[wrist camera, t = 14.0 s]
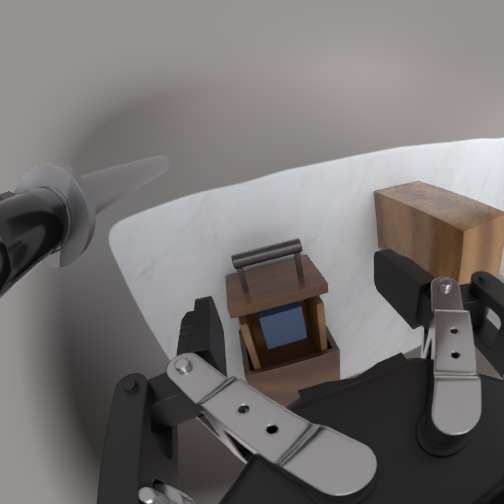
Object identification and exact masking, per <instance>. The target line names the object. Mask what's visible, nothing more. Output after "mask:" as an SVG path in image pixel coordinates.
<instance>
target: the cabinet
mask: <svg viewBox="0 0 504 504" xmlns="http://www.w3.org/2000/svg"><path fill="white" fill-rule="evenodd" d="M325 325H326V324H325ZM239 336H240V343H241V351H242V358H243V365H244V372H245V377H246V380H247V382H248V385H250V386H251V387H253V388H254V389H256V390H258V391H259V392H261V393H262V394H264V395H265V396H267V397H269V398H270V399H272V400H273V401H275V402H277V403H278V404H280V405H281V406H283V407H286V406H288V405H289V404H290V403H292V402H293V401H295V400H297V399H299V394H298V390H300V389H304V388H307V387H311V386H314V385H317V384H320V383H324V382H329V381H337V380H340V350H339V348H338V346H337V344H336V342H335V341H334V339H333V337H332V335H331V333H330V331H329V330H328V328H327V326H326V336H327V350H325V351H322V352H319V353H316V354H312V355H309V356H306V357H302V358H299V359H295V360H292V361H288V362H285V363H281V364H277V365H273V366H269V367H265V368H261V369H257V370H255V369H254V366H253V363H252V360H251V358H250V355H249V352H248V349H247V346H246V343H245V340H244V337H243V334H242V331H241V330H239Z"/></svg>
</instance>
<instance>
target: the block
mask: <svg viewBox="0 0 504 504" xmlns="http://www.w3.org/2000/svg"><path fill="white" fill-rule="evenodd" d="M257 313H258V317H259V321H260V324H261V328H262V331H263V334H264V338H265V341H266V344H267V347H268V349H271V348H274V347H278V346H281V345H285V344H288V343H292V342H295V341H298V340H302V339H305V338H307V334H306V328H305V322H304V317H303V311H302V306H301V304H300V302H299V301H296V302H293V303H289V304H286V305H282V306H278V307H275V308H271V309H267V310H263V311H259V312H257Z"/></svg>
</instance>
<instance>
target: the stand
mask: <svg viewBox="0 0 504 504" xmlns="http://www.w3.org/2000/svg"><path fill="white" fill-rule="evenodd" d="M374 195H375V205H376V216H377V229H378V246H379V248H380V249H382V250H384V249H387V248H390V249H392V250H393V251H394V252H396V253H397V254H399V255H402V256H405V257H408V258H410V259H411V260H413V261H414V262H415V263H417V264H418V265H420V267H422V268H424V269H425V270H426V271H428V272H429V273H430V274H432V275H433V276H434V277H435V278H438V277H448V278H451V279H454V280H455V281H457V283H458V284H459V285H461V284H467V283H470V280H471V275H472V274H473V273H474V272H477V271H485V272H488V273H490V274H492V275H493V276H495V277H496V278H497V279H498V274H499V269H500V264H501V259H502V253H503V246H504V212H503V211H500V210H498V209H496V208H493V207H491V206H488V205H486V204H483V203H481V202H478V201H476V200H473V199H470V198H468V197H465V196H462V195H459V194H457V193H454V192H451V191H448V190H445V189H442V188H439V187H436V186H433V185H429V184H426V183H423V182H420V181H418V182H413V183H408V184H404V185H399V186H395V187H390V188H386V189H382V190H377V191H374Z"/></svg>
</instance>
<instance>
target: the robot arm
mask: <svg viewBox="0 0 504 504" xmlns="http://www.w3.org/2000/svg"><path fill="white" fill-rule="evenodd" d="M70 231H71V213H70V209H69V206H68V204H67V202H66V200H65V198H64V197H63V195H62V194H61V193H60V192H59V191H58V190H56V189H55V188H53V187H51V186H39V187H36V188H34V189H33V190H30V191H29V190H27V191H24V192H21V193H19V194H14V193H12V192H9V191H8V192H5V193H3V194H0V300H1V299H2V298H3V297H4V296H5V295H6V294H7V293H8V292H9V291H10V290H11V289H12V288H13V287H14V286H15V285H16V284H17V283H18V282H19V281H20V280H21V279H23V277H24V276H26V275H27V274H28V273H29V272H30V271H31V270H32V269H33V268H35V267H36V266H37V265H38V264H39V263H40V262H42V261H43V260H44V259H45V258H46V257H48V256H49V255H51V254H53V253H56V252H58V251H60V250H61V249H62V248H60V249H58V248H59V247H61V246H62V245H63V244H64V243H65V242H66V240H67V239H68V237H69V234H70ZM63 248H64V247H63ZM56 249H58V250H56ZM374 282H375V286H376V289H377V290H378V292H379V293H380V294H381V295H382V296H383V297H384V298H385V299H386V300H387V301H388V302H389V303H390V305H391V306H392V307H393V308H394V309H395V310H396V311H397V312H398V313H399V314H400V315H401V316H402V318H403V319H404V320H405V321H406V322H407V323H408V324H409V325H410V326H411V327H412V329H415V328H417V327H420V326H423V327H424V328H423V333H422V349H421V358H410V359H406V358H405V357H404V355H403V354H402V353H399V354H397V355H395V356H392V357H390V358H388V359H385V360H383V361H381V362H378V363H377V364H376V365H374V366H373V367H371V368H370V369H368V370H367V371H365V372H364V373H362V374H361V375H359V376H358V377H356V378H351V379H344V380H337V381H329V382H324V383H320V384H317V385H314V386H311V387H307V388H304V389H300V390H298V394H299V399H297V400H295V401H293V402H292V403H290V404H289V405H288V406H286V407H283V406H281V405H280V404H278V403H277V402H275V401H273V400H272V399H270V398H269V397H267V396H265V395H264V394H262V393H261V392H259V391H258V390H256V389H254V388H253V387H251V386H250V385H248V384H247V383H245V382H244V381H242V380H241V379H239V378H238V377H235V376H233V377H231V378H230V379H229V378H227V371H226V357H225V342H224V331H223V327H222V323H221V320H220V318H219V315H218V312H217V309H216V307H215V304H214V301H213V298H212V296H208V297H204V298H199V299H196V300H195V306H194V311H191V312H187V313H186V314H185V316H184V317H183V319H182V321H181V327H180V328H181V329H180V335H179V341H178V348H177V355H176V357H174V358H173V359H172V360H171V361H170V362H169V363H168V365H167V367H166V372H165V373H163V374H161V375H159V376H156V377H154V378H151V379H149V380H147V379H146V377H145V376H144V375H142V374H139V373H138V374H137V373H134V374H130V375H128V376H125V377H124V378H122V379H121V380H120V381H119V383H118V384H117V386H116V389H115V393H114V397H113V402H112V407H111V411H110V416H109V421H108V427H107V432H106V438H105V443H104V449H103V456H102V463H101V470H100V478H99V487H98V498H97V504H195V502H194V501H193V500H192V499H191V498H190V497H189V496H187V495H185V494H184V493H182V492H180V491H179V472H178V437H177V425H178V424H180V423H182V422H185V421H188V420H190V419H192V418H195V417H196V418H197V419H198V420H199V421H200V422H201V423H203V424H204V425H205V426H206V427H207V428H208V429H209V430H210V431H211V432H212V433H213V434H214V435H215V436H216V437H218V438H219V439H220V440H221V441H222V442H223V443H224V444H225V445H226V446H227V447H228V448H229V449H230V450H231V451H232V452H233V453H234V454H235V455H236V456H237V457H239V458H240V459H241V460H242V461H243V462H245V463H246V465H245V467H244V468H243V470H242V471H241V472H240V474H239V476H238V477H237V479H236V480H235V481H234V483H233V484H232V485H231V487H230V488H229V490H228V491H227V493H226V494H225V495H224V497H223V498H222V499H221V501H220V502H219V503H218V504H504V283H503V282H501V281H500V280H499V279H497V278H496V277H495V276H493V275H492V274H490V273H488V272H485V271H477V272H474V273H473V274H472V275H471V280H470V283H467V284H461V285H459V284H458V283H457V281H455V280H454V279H451V278H448V277H438V278H435V277H434V276H433V275H432V274H430V273H429V272H428V271H426V270H425V269H424V268H422V267H420V265H418V264H417V263H415V262H414V261H413V260H411V259H410V258H408V257H405V256H402V255H399V254H397V253H396V252H394V251H393V250H392V249H390V248H387V249H384V250H380V251H377V252H375V254H374ZM489 309H491V310H492V311H493V312H494V313H495V314H496V315H497V316H498V317H499V319H500V322H501V325H500V329H498V328H497V327H496V326H495V325H494V324H493V323H492V322H491V321H489V320H488V319H487V315H488V312H489ZM474 345H475V346H476V347H477V348H478V349H479V351H480V352H481V353H482V354H483V355H484V356H485V358H486V359H487V360H488V361H489V362H490V363H491V365H492V366H493V367H494V368H495V370H497V372H498V373H499V374H500V376H501V377H502V378H503V380H500V379H497V378H493V377H489V376H486V375H482V374H478V373H477V371H476V358H475V347H474Z"/></svg>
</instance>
